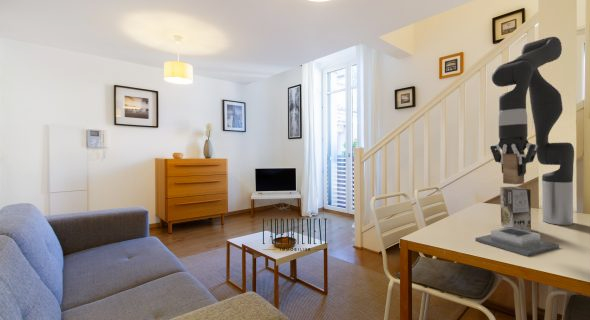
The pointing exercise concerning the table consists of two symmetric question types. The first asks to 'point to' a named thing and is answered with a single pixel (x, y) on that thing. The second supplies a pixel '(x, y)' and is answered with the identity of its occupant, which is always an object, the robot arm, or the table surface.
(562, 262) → the table surface
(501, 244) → the stepped grey base plate
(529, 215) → the coffee box
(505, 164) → the brown rectangular block
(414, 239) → the table surface
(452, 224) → the table surface
